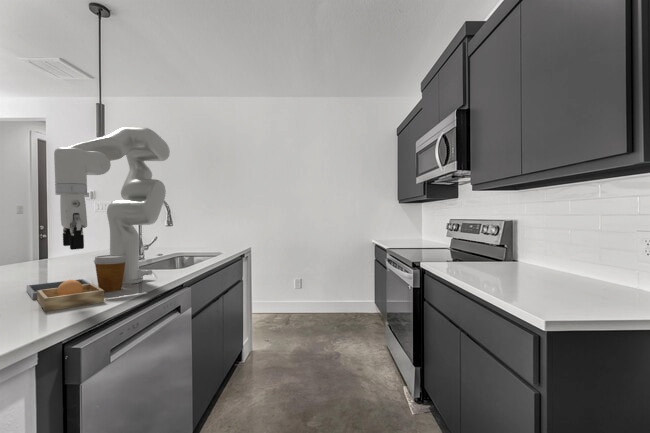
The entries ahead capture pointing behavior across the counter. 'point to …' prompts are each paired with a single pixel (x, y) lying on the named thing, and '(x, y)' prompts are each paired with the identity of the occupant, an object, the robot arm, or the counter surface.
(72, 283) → the ball
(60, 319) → the counter surface
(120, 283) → the disposable coffee cup
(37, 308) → the counter surface
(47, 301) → the tray
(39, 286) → the container
